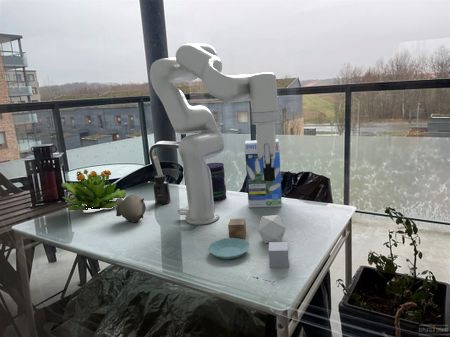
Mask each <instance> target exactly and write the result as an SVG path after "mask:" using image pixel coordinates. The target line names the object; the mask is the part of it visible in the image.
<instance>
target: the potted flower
mask: <svg viewBox="0 0 450 337" xmlns="http://www.w3.org/2000/svg"><path fill="white" fill-rule="evenodd" d="M89 172H90V173H89ZM85 175H86V176H87V179H86V176H85ZM111 175H112V172H111V171H110V170H106V169H105V170H104V171H102V172H100V174H97V172H96V171H95V170H93V171H88V169H86V168H85V169H84V170H83V172H81V170H79V171H77V172H76V178H75V180H77V181H78V182H69V183H68V182H62V183H61V188H64V189H67V190H68V192H70V193H71V194H72V195H73V196H72V197H73V198H74V200H73V199H71V198H67V197H66V196H61V198H63V199H64V200H66V201H67V202H68V203H69V204H71V205H70V206H68V209H67V210H68V211H82V210H88V208H91V209H100V208H112V207H113V208H115V207H116V205H117V202H116V199H117V198H118V199H119V198H122V200H124V199H125V198H126V195H127V193H128V191H127V190H124V189H123V190H121V189H120V188H117V189H116V187H117V183H113V184H112V183H111V182H108V180H109V179H110V176H111ZM106 182H107V184H106ZM115 189H116V190H115ZM86 205H87V206H86ZM92 207H93V208H92ZM86 208H87V209H86ZM113 208H112V209H113Z"/></svg>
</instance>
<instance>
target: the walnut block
mask: <svg viewBox="0 0 450 337" xmlns="http://www.w3.org/2000/svg"><path fill="white" fill-rule="evenodd" d="M227 225H228V238H238V239H242V240H245V239H246V236H247V226H246V218H229V222H228V224H227Z"/></svg>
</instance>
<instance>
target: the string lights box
mask: <svg viewBox="0 0 450 337" xmlns="http://www.w3.org/2000/svg"><path fill="white" fill-rule="evenodd" d="M244 153H245V154H244V155H245V171H246V185H247V186H246V188H247V200H248V208H276V207H277V208H278V207H282V203H283V202H282V200H283V198H282V176H281V157H280V156H281V155H280V142H279V138H276V149H275V157H274V158H273V166H274V170H275V181H264V172H263V167H264V163H263V156H262V158H260V159H258V153H257V139H255V140H245V143H244Z"/></svg>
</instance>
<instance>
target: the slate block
mask: <svg viewBox="0 0 450 337" xmlns="http://www.w3.org/2000/svg"><path fill="white" fill-rule="evenodd" d="M288 244H289V243H288V241H281V242H269V243H268V263H269V269H277V268H278V269H281V268H282V269H286V268H290V263H289V260H290V259H289V245H288Z"/></svg>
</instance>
